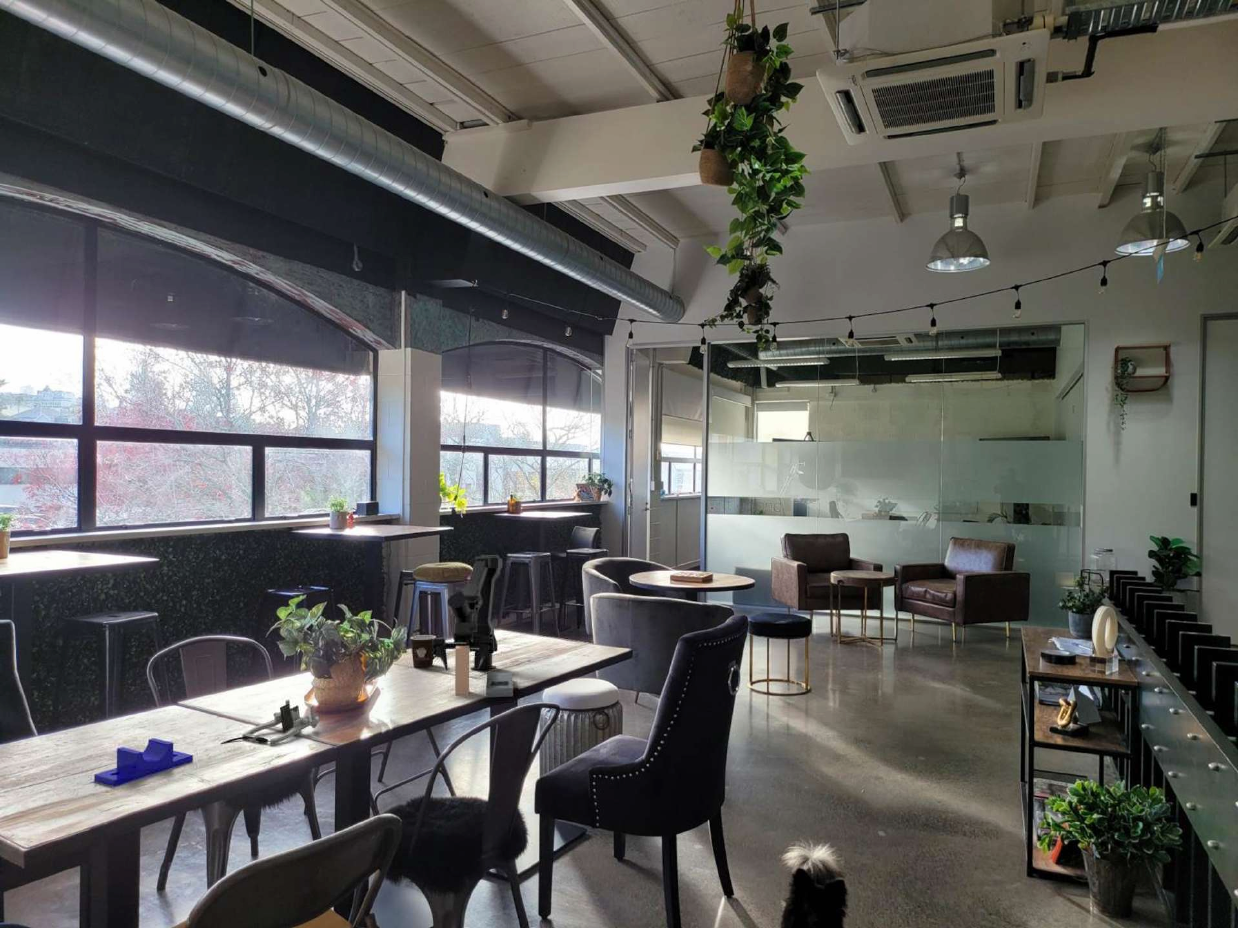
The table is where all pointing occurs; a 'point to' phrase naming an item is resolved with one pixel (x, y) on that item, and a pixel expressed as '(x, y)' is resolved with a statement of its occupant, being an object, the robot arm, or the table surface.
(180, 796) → the table surface
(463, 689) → the terracotta peg
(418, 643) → the coffee mug
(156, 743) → the mounting bracket
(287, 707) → the bike brake
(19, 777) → the table surface
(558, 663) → the table surface
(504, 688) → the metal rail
